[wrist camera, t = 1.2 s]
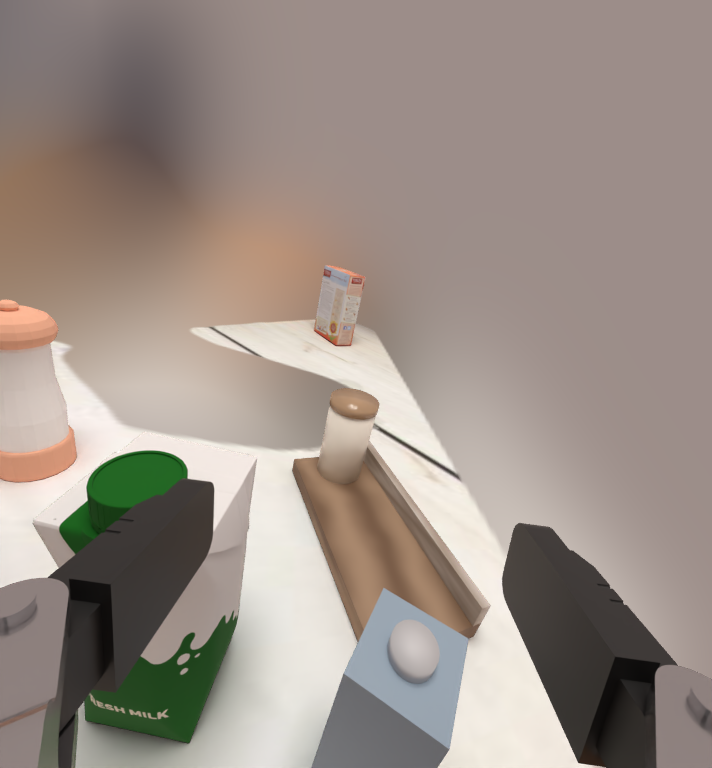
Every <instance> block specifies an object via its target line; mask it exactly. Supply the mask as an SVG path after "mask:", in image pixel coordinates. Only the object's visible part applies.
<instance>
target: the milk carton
mask: <svg viewBox="0 0 712 768" xmlns="http://www.w3.org/2000/svg"><path fill="white" fill-rule="evenodd" d="M256 462H257V457H256V456H251V455H247V454H242V453H238V452H234V451H229V450H225V449H220V448H216V447H211V446H207V445H203V444H198V443H194V442H189V441H185V440H180V439H176V438H171V437H167V436H163V435H158V434H154V433H149V432H143V433H142V434H141V435H139V436H138V437H137V438H136V439H134V440H133V441H132V442H131V443H129V444H128V445H127V446H126V447H124V448H123V449H122V450H121V451H119V452H114V453H113V454H111V455H110V456H109V457H107V458H106V459H105V460H104V461H103V462H102V463H101V464H100V465H99V466H98V467H97V468H96V469H94V470H93V471H92V472H91V473H89V474H88V475H87V476H86V477H84V478H83V479H82V480H81V481H79V482H78V483H77V484H76V485H75V486H73V487H72V488H71V489H70V490H68V491H67V492H66V493H65V494H64V495H62V496H61V497H60V498H59V499H57V500H56V501H55V502H54V503H52V504H51V505H50V506H49V507H48V508H46V509H45V510H44V511H43V512H41V513H40V514H39V515H38V516H37V517H36V518H34V520H33V525H34V527H35V529H36V530H37V532H38V534H39V535H40V537H41V539H42V540H43V542H44V544H45V545H46V547H47V549H48V550H49V552H50V554H51V555H52V557H53V559H54V561H55V562H56V564H57V566H58V567H59V568H60V567H61V566H62V565H63V564H65V563H66V562H67V561H68V560H69V559H71V558H72V557H73V556H74V555H75V554H77V553H78V552H79V551H80V550H81V549H83V548H84V547H85V546H86V545H88V544H89V543H90V542H91V541H92V540H94V539H95V538H96V537H97V536H98V535H100V534H101V533H104V532H105V530H106V529H107V528H108V527H109V526H110V525H112V524H113V523H114V522H115V521H119V518H120V517H121V516H123V515H124V514H125V513H126V512H127V511H129V510H130V509H131V508H132V507H133V506H135V505H136V504H138V503H140V502H142V501H145V500H147V499H149V498H151V497H153V496H155V495H163V494H164V493H166V492H167V491H168V490H169V489H170V488H171V487H172V486H173V485H175V484H176V483H177V482H178V481H179V480H180V479H182V478H186V479H194V480H201V481H209V482H212V483H213V485H214V524H213V539H212V543H211V547H210V550H209V552H208V555H207V557H206V559H205V560H204V562H203V563H202V565H201V566H200V568H199V569H198V571H197V572H196V574H195V575H194V577H193V578H192V580H191V581H190V583H189V584H188V586H187V587H186V589H185V590H184V592H183V593H182V595H181V596H180V598H179V599H178V601H177V602H176V604H175V605H174V607H173V608H172V610H171V611H170V613H169V614H168V616H167V617H166V619H165V620H164V621H163V623H162V624H161V626H160V627H159V629H158V630H157V632H156V633H155V635H154V636H153V638H152V639H151V641H150V642H149V644H148V645H147V647H146V648H145V650H144V651H143V653H142V654H141V656H140V657H139V659H138V660H137V662H136V663H135V665H134V666H133V668H132V669H131V671H130V672H129V674H128V675H127V677H126V678H125V680H124V681H123V683H122V684H121V686H120V687H119V689H118V690H117V692H116V693H114V692H107V691H100V690H93V689H92V691H91V692H90V693H89V695H88V696H87V697H86V699H85V700H84V703H85V720H86V721H91V722H95V723H100V724H104V725H109V726H113V727H118V728H122V729H127V730H131V731H136V732H140V733H145V734H150V735H154V736H159V737H163V738H168V739H172V740H177V741H181V742H186V743H189V742H190V740H191V737H192V735H193V732H194V730H195V727H196V725H197V722H198V720H199V717H200V715H201V712H202V710H203V707H204V705H205V702H206V700H207V697H208V695H209V692H210V690H211V687H212V685H213V682H214V680H215V677H216V675H217V673H218V670H219V668H220V665H221V663H222V660H223V658H224V655H225V653H226V650H227V648H228V645H229V643H230V640H231V638H232V635H233V632H234V630H235V627H236V624H237V619H238V612H239V605H240V596H241V587H242V579H243V570H244V561H245V552H246V541H247V531H248V529H249V512H250V504H251V497H252V490H253V483H254V475H255V468H256Z"/></svg>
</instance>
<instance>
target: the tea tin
mask: <svg viewBox="0 0 712 768" xmlns="http://www.w3.org/2000/svg"><path fill="white" fill-rule="evenodd" d="M467 645H468V638H467V637H465V636H463V635H462V634H460V633H458V632H457V631H455V630H453V629H452V628H450V627H448V626H447V625H445V624H443V623H442V622H440V621H438V620H437V619H435V618H433V617H432V616H430V615H428V614H427V613H425V612H423V611H422V610H420V609H418V608H417V607H415V606H413V605H412V604H410V603H408V602H407V601H405V600H403V599H402V598H400V597H398V596H397V595H395V594H393V593H391V592H390V591H388V590H386V589H385V588H383V590H382V592H381V595H380V597H379V599H378V601H377V603H376V605H375V607H374V610H373V612H372V614H371V616H370V618H369V620H368V622H367V625H366V627H365V629H364V631H363V633H362V635H361V637H360V640H359V642H358V644H357V646H356V648H355V650H354V652H353V655H352V657H351V659H350V661H349V663H348V665H347V667H346V669H345V672H344V674H343V677H342V680H341V683H340V686H339V688H338V691H337V694H336V697H335V700H334V703H333V706H332V709H331V712H330V715H329V718H328V721H327V724H326V726H325V729H324V732H323V735H322V738H321V741H320V744H319V747H318V750H317V753H316V756H315V759H314V761H313V764H312V767H311V768H437V767H438V766H439V764H440V763H441V761H442V760H443V758H444V757H445V755H446V754H447V752H448V751H449V749H450V743H451V737H452V731H453V726H454V720H455V714H456V708H457V703H458V697H459V691H460V685H461V680H462V674H463V668H464V662H465V656H466V651H467Z"/></svg>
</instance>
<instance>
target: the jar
mask: <svg viewBox="0 0 712 768" xmlns="http://www.w3.org/2000/svg"><path fill="white" fill-rule="evenodd" d="M378 408H379V402H378V400H377V399H376V398H375V397H373V396H372V395H370V394H368V393H366V392H363V391H360V390H356V389H349V388H343V389H337V390H335V391H333V392H332V394H331V398H330V407H329V412H328V417H327V422H326V426H325V431H324V436H323V441H322V446H321V450H320V455H319V460H318V465H317V469H318V472H319V473H320V475H321V476H322V477H323V478H325V479H326V480H328V481H330V482H333V483H337V484H349V483H352V482H354V481H356V480H357V479H358V478H359V476H360V472H361V468H362V464H363V461H364V457H365V453H366V450H367V446H368V442H369V439H370V435H371V431H372V427H373V424H374V420H375V416H376V415H377V412H378Z"/></svg>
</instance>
